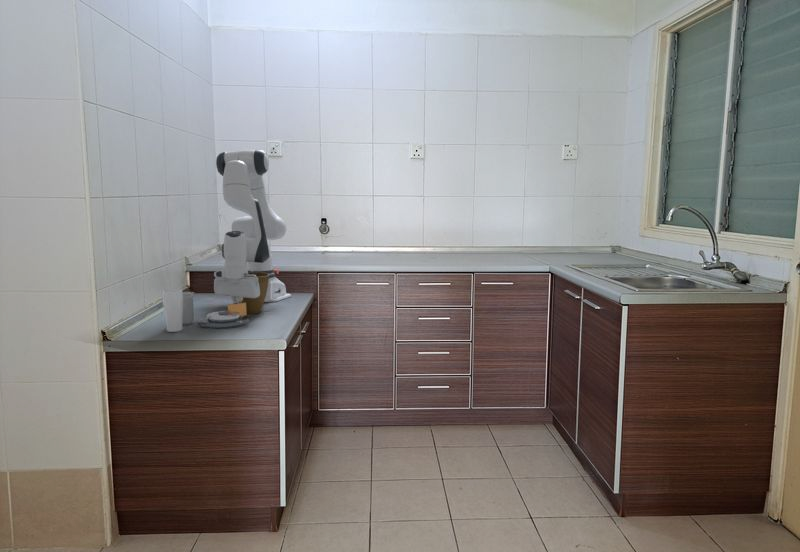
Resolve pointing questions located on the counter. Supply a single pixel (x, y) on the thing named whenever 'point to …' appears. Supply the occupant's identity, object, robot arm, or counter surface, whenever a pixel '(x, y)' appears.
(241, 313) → the dial
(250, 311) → the plant pot
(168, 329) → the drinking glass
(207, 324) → the dial plate
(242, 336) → the counter surface
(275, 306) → the counter surface
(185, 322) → the beverage can
